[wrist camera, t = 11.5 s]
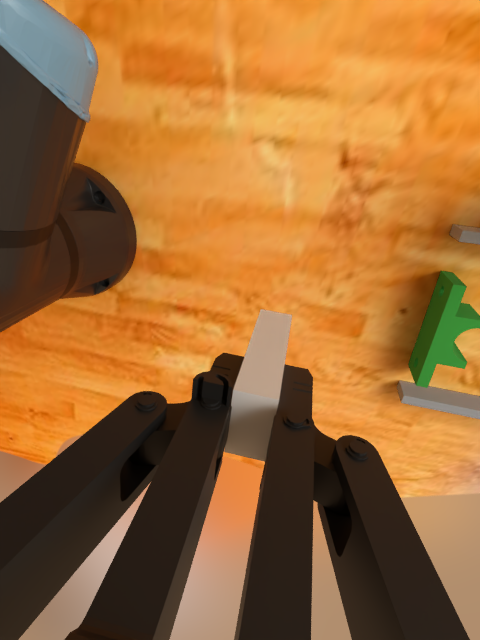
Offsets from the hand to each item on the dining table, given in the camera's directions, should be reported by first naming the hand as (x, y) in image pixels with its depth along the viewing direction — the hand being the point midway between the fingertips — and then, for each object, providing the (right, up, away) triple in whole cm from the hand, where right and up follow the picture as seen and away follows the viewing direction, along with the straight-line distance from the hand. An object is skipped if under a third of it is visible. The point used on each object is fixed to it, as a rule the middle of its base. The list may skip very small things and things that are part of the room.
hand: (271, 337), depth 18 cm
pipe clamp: (+20, +1, +22) cm, 30 cm away
